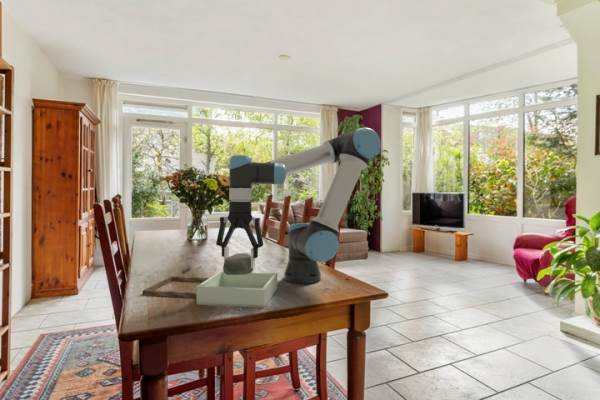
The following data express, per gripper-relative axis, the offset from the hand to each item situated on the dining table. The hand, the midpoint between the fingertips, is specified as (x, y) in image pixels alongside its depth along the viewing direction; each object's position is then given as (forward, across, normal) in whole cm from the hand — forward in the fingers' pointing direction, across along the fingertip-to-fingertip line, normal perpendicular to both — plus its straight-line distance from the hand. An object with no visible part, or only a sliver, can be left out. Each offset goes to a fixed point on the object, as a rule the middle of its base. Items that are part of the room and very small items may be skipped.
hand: (239, 266), depth 118 cm
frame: (+10, +22, -6) cm, 25 cm away
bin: (+10, 0, 0) cm, 10 cm away
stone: (+2, 0, +2) cm, 3 cm away
